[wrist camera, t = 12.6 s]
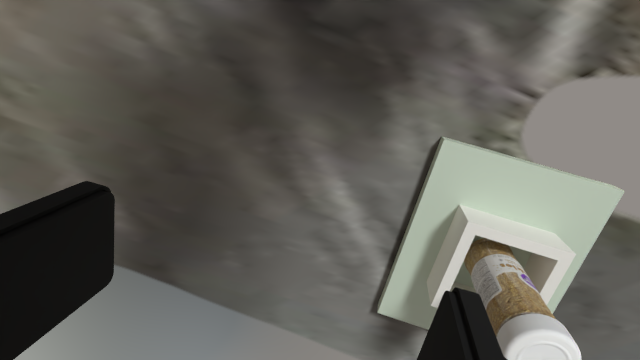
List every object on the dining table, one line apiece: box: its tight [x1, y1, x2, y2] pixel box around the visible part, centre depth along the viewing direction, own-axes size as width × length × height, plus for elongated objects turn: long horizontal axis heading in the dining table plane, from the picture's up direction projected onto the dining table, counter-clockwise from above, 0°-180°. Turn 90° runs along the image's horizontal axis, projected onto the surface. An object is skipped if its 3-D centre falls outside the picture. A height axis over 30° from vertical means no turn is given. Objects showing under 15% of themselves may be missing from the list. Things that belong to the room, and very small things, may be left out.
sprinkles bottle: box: [464, 238, 581, 360], centre depth 29 cm, size 5×5×14 cm
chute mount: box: [378, 136, 624, 330], centre depth 34 cm, size 20×16×6 cm
